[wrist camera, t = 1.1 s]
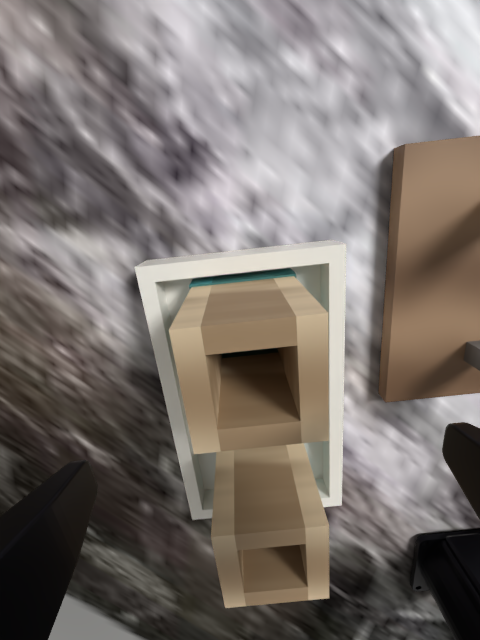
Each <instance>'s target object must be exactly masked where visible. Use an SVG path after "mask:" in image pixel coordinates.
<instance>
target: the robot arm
mask: <svg viewBox="0 0 480 640" xmlns="http://www.w3.org/2000/svg"><path fill="white" fill-rule="evenodd" d="M442 452H443V456H444V459H445V461H446V463H447V465H448V466H449V468H450V470H451V471H452V473H453V475H454V477H455V478H456V480H457V482H458V483H459V485H460V487H461V489H462V490H463V492H464V494H465V495H466V497H467V499H468V501H469V502H470V504H471V506H472V508H473V509H474V511H475V513H476V514H477V516H478V518H479V519H480V428H477V427H475V426H473V425H471V424H469V423H464V422H462V423H452V424H448V425H447V427H446V429H445V435H444V442H443V448H442ZM96 495H97V482H96V479H95V476H94V474H93V471H92V468H91V465H90V463H89V462H88V461H86V460H81V461H72V462H70V463H68V464H67V465H65V466H64V467H63V468H61V469H60V470H59V471H58V472H56V473H55V474H54V475H53V476H51V477H50V478H49V479H47V480H46V481H45V482H44V483H42V484H41V485H40V486H39V487H37V488H36V489H35V490H33V491H32V492H31V493H30V494H28V495H27V496H26V497H25V498H23V499H22V500H21V501H19V502H18V503H17V504H16V505H14V506H13V507H12V508H11V509H9V510H8V511H7V512H5V513H4V514H3V515H2V516H0V640H48V638H49V635H50V633H51V630H52V627H53V625H54V622H55V619H56V617H57V614H58V612H59V609H60V606H61V604H62V601H63V598H64V596H65V593H66V591H67V588H68V585H69V583H70V580H71V578H72V575H73V572H74V569H75V567H76V564H77V561H78V558H79V554H80V551H81V548H82V544H83V541H84V537H85V534H86V530H87V527H88V523H89V520H90V516H91V513H92V509H93V506H94V502H95V499H96ZM410 585H411V587H412V589H413V590H414V591H428V590H430V592H431V594H432V596H433V597H434V599H435V601H436V603H437V605H438V607H439V609H440V611H441V613H442V615H443V617H444V619H445V621H446V623H447V624H448V626H449V628H450V630H451V632H452V634H453V636H454V638H455V640H480V530H470V531H460V532H450V533H439V534H429V535H421V536H419V537H418V538H417V540H416V546H415V552H414V559H413V566H412V573H411V580H410Z"/></svg>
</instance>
